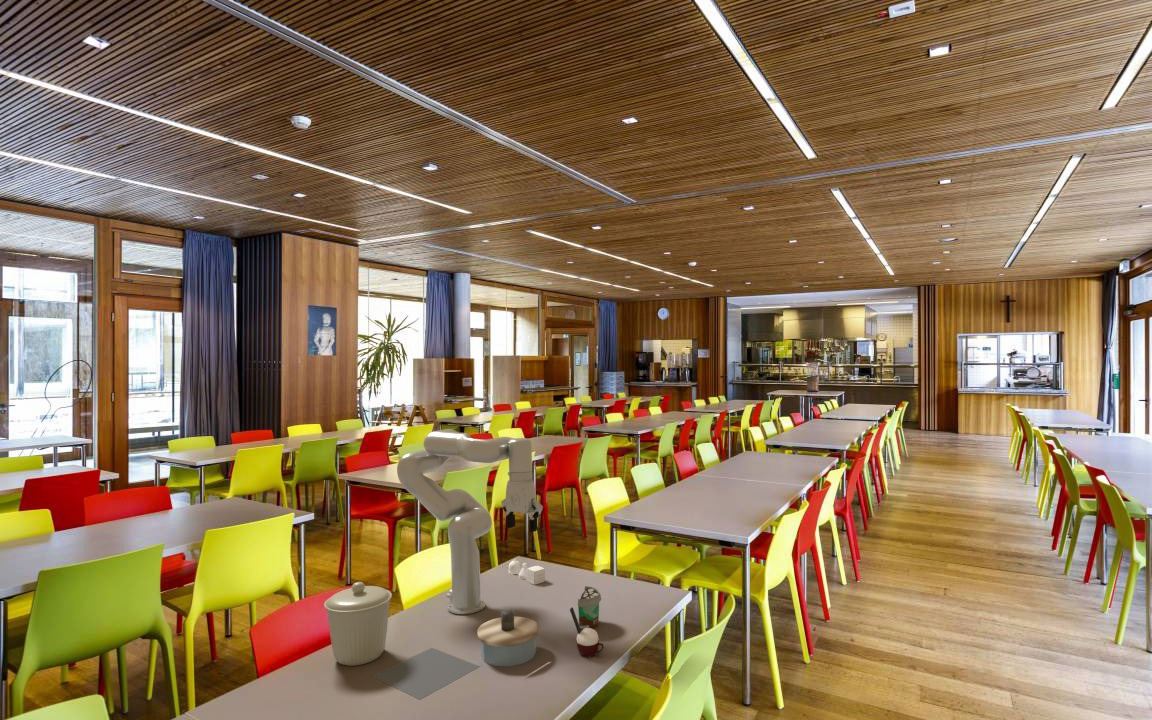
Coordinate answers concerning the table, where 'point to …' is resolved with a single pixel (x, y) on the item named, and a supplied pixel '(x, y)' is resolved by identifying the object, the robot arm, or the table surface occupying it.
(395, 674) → the mat
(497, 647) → the bowl
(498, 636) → the lid
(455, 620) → the table surface
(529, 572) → the container set
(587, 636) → the cocoa
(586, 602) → the food container
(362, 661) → the canister
